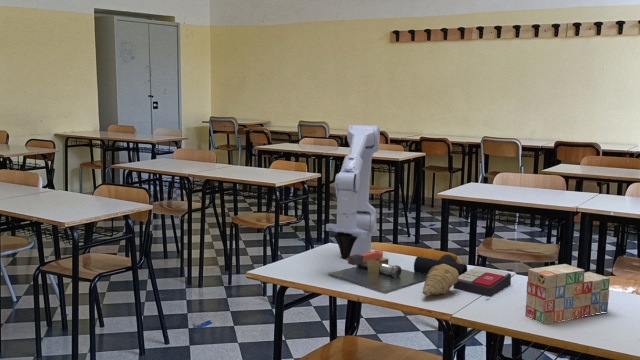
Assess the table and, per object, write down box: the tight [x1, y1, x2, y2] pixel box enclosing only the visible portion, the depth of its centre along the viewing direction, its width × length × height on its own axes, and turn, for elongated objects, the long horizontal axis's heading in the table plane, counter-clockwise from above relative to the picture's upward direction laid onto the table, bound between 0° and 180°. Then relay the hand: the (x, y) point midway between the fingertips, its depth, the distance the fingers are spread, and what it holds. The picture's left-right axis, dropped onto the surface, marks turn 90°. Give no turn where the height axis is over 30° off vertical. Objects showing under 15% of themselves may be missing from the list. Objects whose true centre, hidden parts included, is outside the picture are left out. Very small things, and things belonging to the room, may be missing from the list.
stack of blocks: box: [525, 263, 611, 325], centre depth 149 cm, size 21×6×12 cm, turn 114°
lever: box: [347, 249, 384, 266], centre depth 178 cm, size 13×3×2 cm, turn 133°
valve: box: [328, 257, 427, 294], centre depth 178 cm, size 22×21×5 cm
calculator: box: [453, 265, 512, 298], centre depth 171 cm, size 11×4×15 cm
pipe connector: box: [413, 253, 468, 276], centre depth 184 cm, size 12×5×15 cm
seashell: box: [421, 264, 459, 296], centre depth 162 cm, size 14×8×8 cm, turn 148°
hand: (345, 258), depth 177 cm, fingers closed
